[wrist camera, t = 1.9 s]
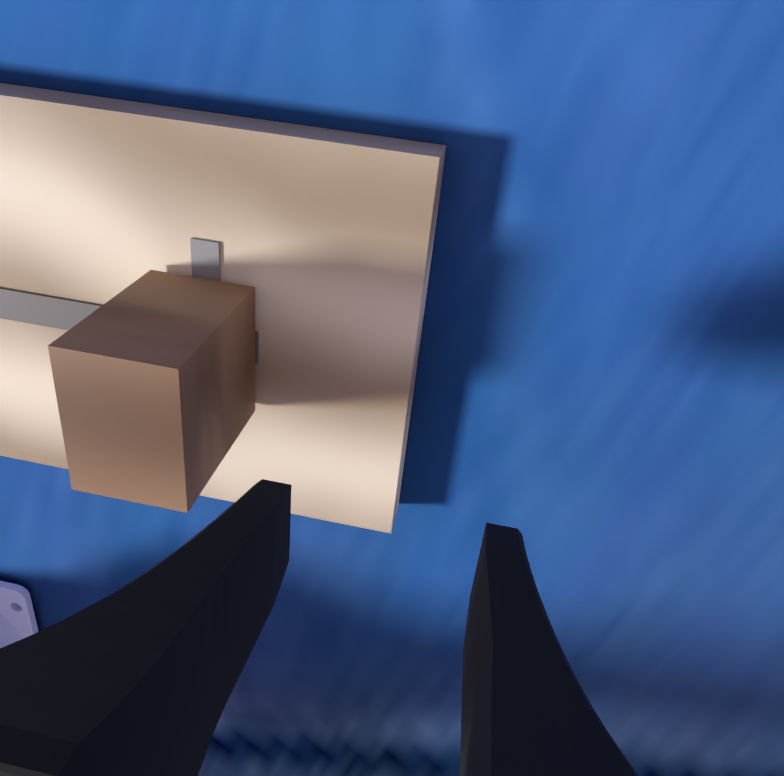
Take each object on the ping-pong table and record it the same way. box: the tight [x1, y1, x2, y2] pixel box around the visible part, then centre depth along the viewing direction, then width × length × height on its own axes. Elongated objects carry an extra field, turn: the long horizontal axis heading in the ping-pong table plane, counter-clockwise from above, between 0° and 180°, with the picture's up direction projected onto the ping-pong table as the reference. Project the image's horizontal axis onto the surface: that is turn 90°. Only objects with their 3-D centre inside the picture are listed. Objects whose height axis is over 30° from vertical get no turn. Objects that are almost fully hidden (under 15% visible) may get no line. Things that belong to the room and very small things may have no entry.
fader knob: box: [48, 270, 255, 513], centre depth 18 cm, size 4×3×5 cm
